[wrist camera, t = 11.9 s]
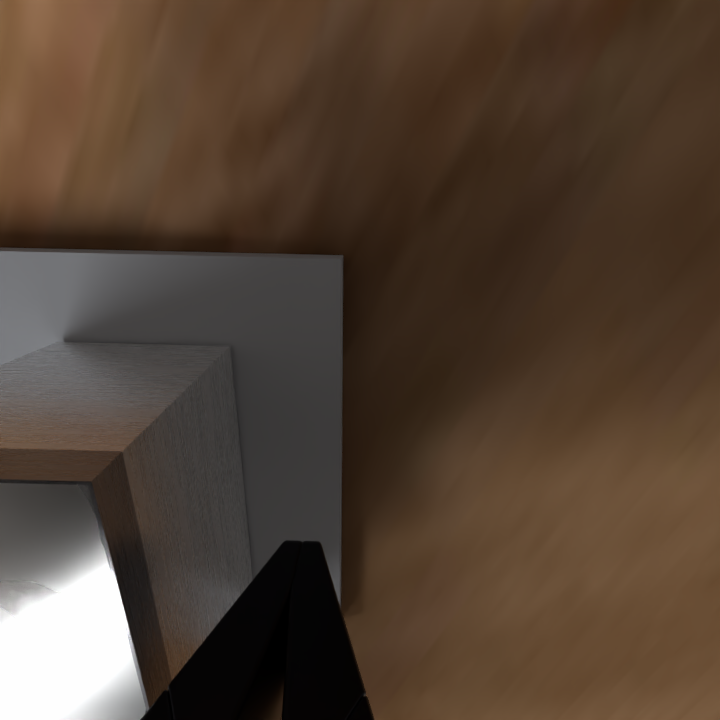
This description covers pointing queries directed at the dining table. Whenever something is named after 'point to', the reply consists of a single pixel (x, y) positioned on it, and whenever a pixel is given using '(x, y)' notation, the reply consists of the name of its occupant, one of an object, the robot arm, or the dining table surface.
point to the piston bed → (217, 328)
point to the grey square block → (114, 523)
